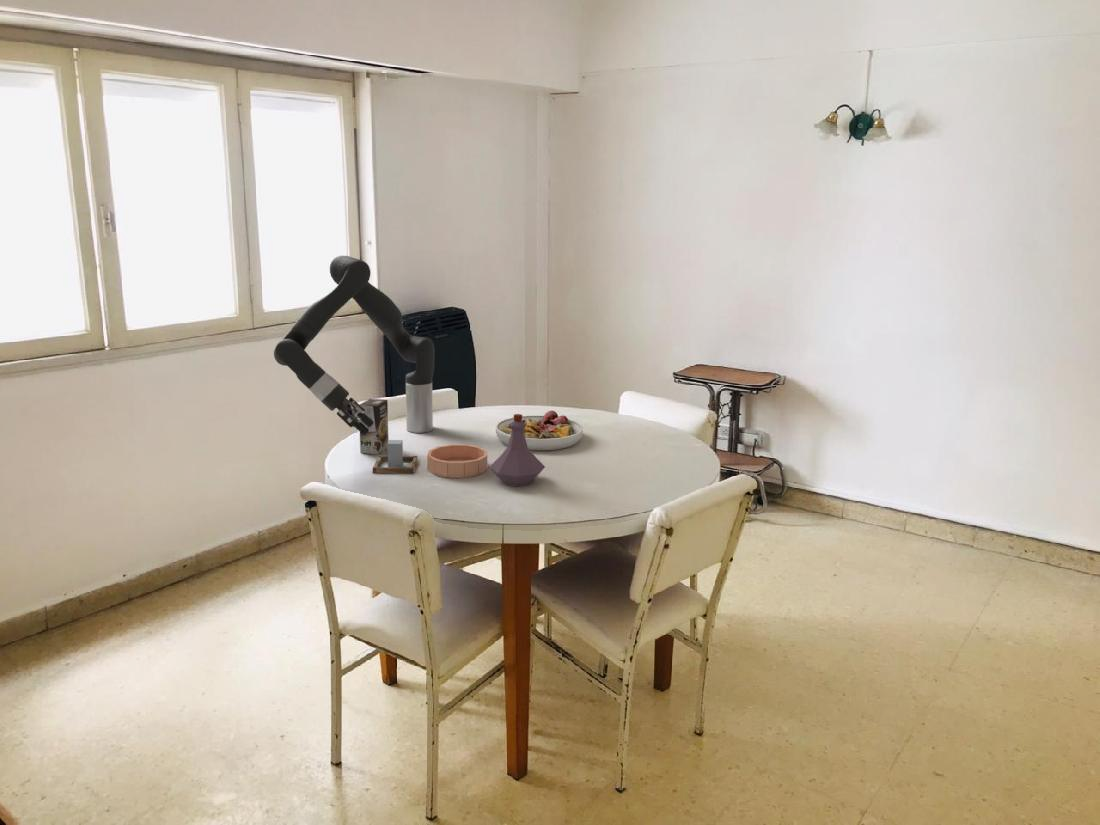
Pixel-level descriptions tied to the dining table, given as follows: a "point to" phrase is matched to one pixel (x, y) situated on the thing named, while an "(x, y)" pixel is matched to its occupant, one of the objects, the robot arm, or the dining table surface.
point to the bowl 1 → (457, 461)
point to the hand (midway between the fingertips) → (369, 428)
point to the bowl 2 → (544, 431)
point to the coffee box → (375, 427)
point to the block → (395, 453)
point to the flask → (517, 458)
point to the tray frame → (395, 469)
